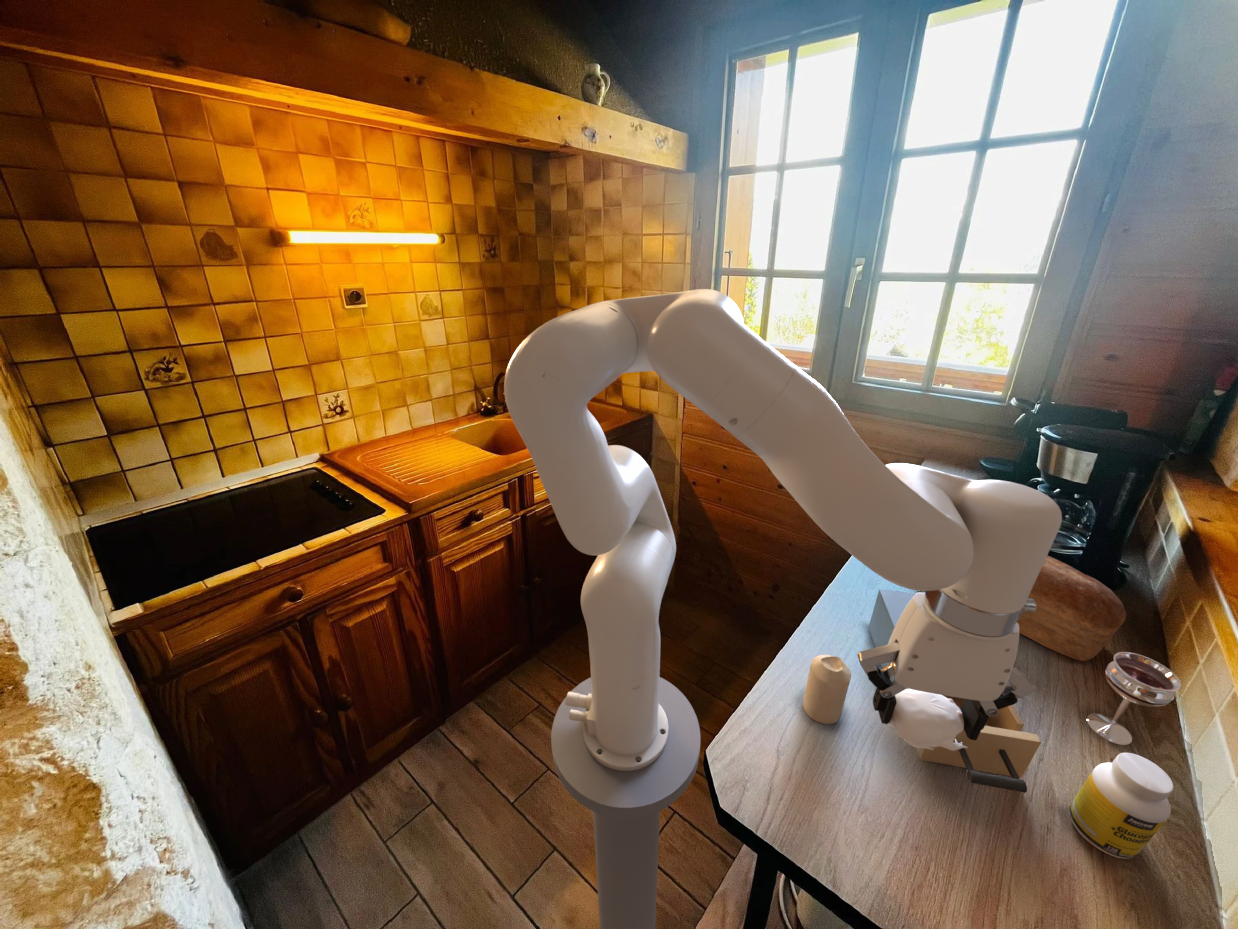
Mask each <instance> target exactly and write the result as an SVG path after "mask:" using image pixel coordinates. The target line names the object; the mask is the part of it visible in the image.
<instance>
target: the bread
mask: <svg viewBox="0 0 1238 929" xmlns="http://www.w3.org/2000/svg"><path fill="white" fill-rule="evenodd" d="M1028 598H1030V599H1034V600H1035V602H1036V606H1037V607H1036V611H1035V612H1034V613H1030V612H1026V613H1022V614H1021V616H1020V618H1019V620H1018V624H1019V634H1020V635H1023V636H1025V637H1027V638H1028V639H1030V640H1032V641H1034V642H1036V643H1038V644H1039V645H1042V646H1043V647H1045V648H1047V649H1049V650H1051V651H1053V652H1056V653H1057V654H1060V655H1063V656H1065V657H1068V658H1070V659H1073V660H1076V661H1079V662H1083V661H1084V662H1085V661H1090V660H1092V659H1094V658H1095V657H1096V656H1097V655H1098V654H1099V653H1100V651H1102V649H1103V648H1104V647H1105V646H1106V645H1107V644H1108V642H1110V640H1111V639H1112V637H1113V635H1115V634H1116V632H1118V630H1119V628H1121V626H1122V625H1123V624H1124V623H1125V621H1126V616H1127V611H1126V609H1125V607H1124V604H1123V602H1122V601H1121V600H1120V598H1119V597H1118V596H1117V595H1116V594H1115V592H1114V591H1113V590H1112V589H1111V588H1109V587H1108V586H1106V585H1105V584H1103V583H1102V582H1101V581H1099V580H1098V579H1096V578H1094V577H1092V576H1090V575H1088V574H1085V573H1083V572H1081V571H1080V570H1078V569H1076V568H1074V567H1073V566H1071V565H1069V564H1067V563H1065V562H1062V561H1061V560H1059V559H1057V558H1054V557H1052V556H1049V554H1048V555H1047V557H1046V559H1045V561H1044V564H1043V566H1042V568H1041V570H1040V572H1039V574H1038V577H1037V579H1036V581H1035V583H1034V585H1033V588H1032V590H1031V592H1030V594H1029V596H1028Z"/></svg>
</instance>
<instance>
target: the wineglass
mask: <svg viewBox="0 0 1238 929" xmlns="http://www.w3.org/2000/svg"><path fill="white" fill-rule="evenodd" d="M1112 658H1113V660H1112V661H1111V662H1109V663H1108V664H1107V666H1106V667H1105V679H1106V681H1107V683H1108V684H1109V686H1110V687H1111V688H1112V690H1113V691H1114V692H1115V693H1116V695H1118V696H1119V697H1120V698H1121V699H1122V700H1121V701H1120V704H1119V706H1118V708H1117V710H1116V711H1115V713H1114V715H1113V717H1112V718H1111V717H1109V716H1106V715H1103V714H1099V713H1090V714H1088V715H1087V718H1086V721H1087V722H1086V723H1087V724H1088V726H1089V727H1090V728H1091V730H1092V731H1094V732H1095V733H1096V734H1097V735H1098V736H1100V737H1102V738H1103V739H1104V740H1107V741H1109V742H1110V743H1113V744H1117V745H1121V746H1126V745H1130V744H1131V743H1132V742H1133V736H1132V734H1131V733H1130V732H1129V731H1128V729H1127V728H1126V727H1125V726H1124V725H1122V724H1121V723H1120V722H1118V720H1119V719H1120V718H1121V716H1122V715H1123V714H1124V712H1125V711H1126V710H1127V709H1128V707H1129V706H1130V704H1134V705H1136V706H1140V707H1147V708H1161V707H1163V706H1167V705H1168V704H1170V703H1171V702H1172V701H1173V700H1174V699H1175V696H1176V692H1177V691H1178V690H1181V686H1182V683H1181V680H1180V679H1179V677H1178V676H1177V675H1176V674H1175V673H1174V672H1173V671H1172V670H1171V669H1169V668H1168V667H1166V666H1165V665H1163V664H1161V663H1160V662H1158V661H1156V660H1154V659H1152V658H1150V657H1147V656H1145V655H1142V654H1139V653H1135V652H1129V651H1119V652H1117V653H1115V654H1113V657H1112Z"/></svg>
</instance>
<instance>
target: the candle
mask: <svg viewBox="0 0 1238 929" xmlns="http://www.w3.org/2000/svg"><path fill="white" fill-rule="evenodd" d="M851 679H852V671H851V669H850V668H849V666H848V665H847V664H846V662H844V661H843V660H842V658H841V657H839V656H834V655H831V654H819V655H816V656H815V657H814V658H812V660H811V662H810V668H809V672H808V677H807V681H806V684H805V690H804V695H803V700H802V707H803V709H804V711H805V713H806V715H807V716H808V717H809V718H811V719H812V720H814V721H815V722H816V723H820V724H823V725H832V724H835V723H837V722H838V721H839V719H840V718H841V715H842V712H843V709H844V706H845V701H846V698H847V694H848V690H849V686H850V683H851Z"/></svg>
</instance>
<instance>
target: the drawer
mask: <svg viewBox="0 0 1238 929" xmlns="http://www.w3.org/2000/svg"><path fill="white" fill-rule="evenodd" d="M907 689H909V688H907ZM943 696H944V697H946V698H948V699H952V700H953V702H954V703H955V704H956V705H957V707H959V708H960V709H961V707H962V705H963V702H964V700H965V699H964V698H958V697H952V696H946V695H943ZM998 711H999V714H998V715H996V716H989V718H988V720H987V722H986V724H985V726H984V728H983V729H982V730H981V732H980V734H979V736H978V738H977V740H976V741H975V740H970V739H969V738H968V737H967V735H966V733H965V731H964V728H963V730H962V731H961V732H960V733H959V734H957V735H956V737H955V738H954V740H953V742H954V743H955V739H956V740H957V742H958V743H961V742H963V743H962V745H963V746H966V747H968V748H961V749H958V750H954V751H952V750H949V749H946V748H943V747H939V746H937V747H930V748H933V749H934V750H931V749H923V748H917V751H916V752H917V755H918V758H919V760H921V761H927V762H931V763H937V764H943V765H948V766H954V767H960V768H965V769H966V779H967V781H968V783H970V784H975V785H980V786H986V787H991V788H997V789H1000V790H1007V791H1012V792H1018V793H1022V794H1026V793H1027V792H1028V785H1027V783H1026V781H1025V780H1024V779H1022V778H1023V776H1024V774H1025V773H1026V771H1027V769H1028V767H1029V766H1030V764H1031V762H1032V760H1033V758H1034V757H1035V755H1036V753H1037V752H1038V750H1039V749H1040V746H1041V744H1042V741H1041V739H1040V738H1039V736H1038V733H1031V732H1025V731H1022V730H1023V729H1024V726H1025V724H1024V722H1023V720H1022V718H1021V717H1020V715H1019V713H1018V712H1017V710H1016V708H1015V706H1014V705H1011V706H1008V707H1005V708H1002V709H999V710H998Z"/></svg>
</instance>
